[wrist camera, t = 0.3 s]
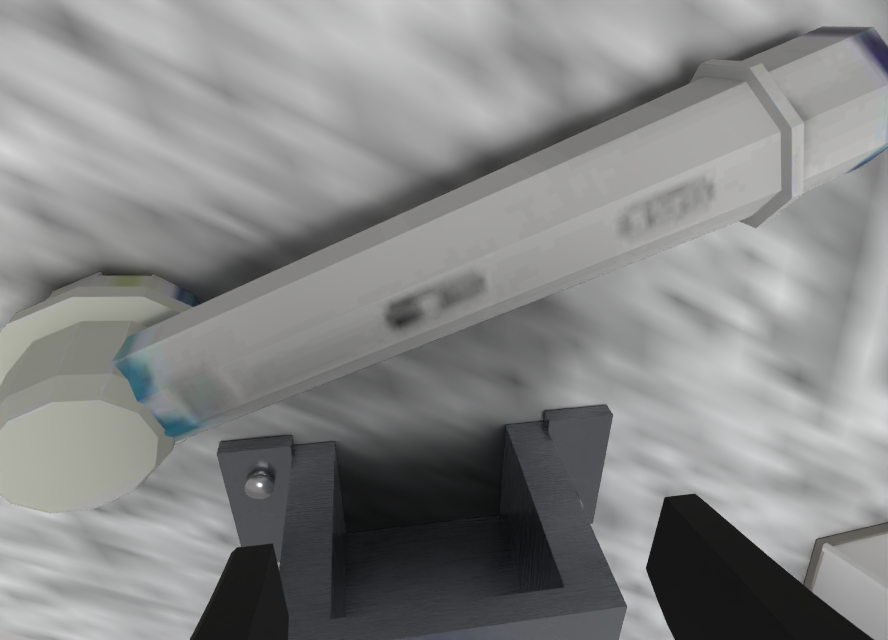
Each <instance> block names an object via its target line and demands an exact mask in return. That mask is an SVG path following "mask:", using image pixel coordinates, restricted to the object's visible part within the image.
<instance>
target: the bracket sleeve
mask: <svg viewBox="0 0 888 640" xmlns="http://www.w3.org/2000/svg"><path fill="white" fill-rule="evenodd" d="M612 418H613V414H612V413H611V411H610V409H609V408H608V406H607V405H603V406H593V407H582V408H572V409H561V410H551V411H545V413H544V421H541V422H530V423H520V424H510V425H506V430H505V444H504V459H503V473H502V487H501V502H500V515H496V516H488V517H479V518H471V519H462V520H454V521H445V522H437V523H428V524H420V525H411V526H403V527H394V528H386V529H377V530H369V531H360V532H352V533H346V528H345V520H344V512H343V504H342V496H341V488H340V480H339V472H338V464H337V456H336V448H335V442H326V443H315V444H305V445H295V446H293V441H292V435H289V436H278V437H268V438H258V439H247V440H237V441H226V442H220V444H219V448H218V451H217V456H218V460H219V464H220V468H221V471H222V475H223V479H224V483H225V487H226V490H227V494H228V498H229V502H230V505H231V509H232V513H233V517H234V521H235V524H236V528H237V532H238V536H239V540H240V543H241V547H247V546H255V545H264V544H272V543H273V545H274V550H275V555H276V559H277V562H280V567H279V573H280V577H281V582H282V587H283V591H284V596H285V600H286V605H287V609H288V614H289V628H288V640H619V636H620V632H621V628H622V624H623V620H624V616H625V613H626V609H627V605H626V603H625V601H624V598H623V596H622V594H621V592H620V590H619V587H618V585H617V583H616V581H615V578H614V576H613V574H612V572H611V570H610V567H609V565H608V563H607V561H606V559H605V556H604V554H603V552H602V550H601V547H600V545H599V543H598V541H597V539H596V536H595V534H594V532H593V530H592V527H591V525H590V524H592V523H593V519H594V513H595V508H596V503H597V497H598V492H599V487H600V481H601V476H602V471H603V465H604V460H605V455H606V450H607V444H608V439H609V434H610V428H611V423H612Z"/></svg>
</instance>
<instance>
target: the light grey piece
mask: <svg viewBox="0 0 888 640" xmlns="http://www.w3.org/2000/svg"><path fill="white" fill-rule="evenodd" d="M887 148H888V45H887V44H886V43H885V41H884V40H883V39H882V37H881V36H880V35H879V34H878V32H877V31H876V30H875V28H874V27H820V28H818V29H816V30H813V31H811V32H809V33H806V34H804V35H802V36H799V37H797V38H794V39H792V40H790V41H787V42H785V43H783V44H780V45H778V46H776V47H773V48H771V49H769V50H766V51H764V52H761V53H759V54H757V55H754V56H752V57H750V58H747V59H745V60H743V61H733V60H722V59H710V60H707V61H705V62H703V63H701V64H700V65H699V67H698V69H697V71H696V72H695V74H694V76H693V77H692V79H691V81H690V82H689V84H687V85H685V86H683V87H681V88H678V89H676V90H674V91H672V92H669V93H667V94H665V95H663V96H661V97H658V98H656V99H654V100H652V101H650V102H647V103H645V104H643V105H641V106H638V107H636V108H634V109H632V110H630V111H627V112H625V113H623V114H621V115H618V116H616V117H614V118H612V119H610V120H607V121H605V122H603V123H601V124H599V125H596V126H594V127H592V128H590V129H587V130H585V131H583V132H581V133H579V134H576V135H574V136H572V137H570V138H568V139H565V140H563V141H561V142H559V143H556V144H554V145H552V146H550V147H548V148H545V149H543V150H541V151H539V152H537V153H534V154H532V155H530V156H528V157H525V158H523V159H521V160H519V161H517V162H514V163H512V164H510V165H508V166H506V167H503V168H501V169H499V170H497V171H494V172H492V173H490V174H488V175H486V176H483V177H481V178H479V179H477V180H475V181H472V182H470V183H468V184H466V185H463V186H461V187H459V188H457V189H455V190H452V191H450V192H448V193H446V194H444V195H441V196H439V197H437V198H435V199H432V200H430V201H428V202H426V203H424V204H421V205H419V206H417V207H415V208H413V209H410V210H408V211H406V212H404V213H401V214H399V215H397V216H395V217H393V218H390V219H388V220H386V221H384V222H382V223H379V224H377V225H375V226H373V227H370V228H368V229H366V230H364V231H362V232H359V233H357V234H355V235H353V236H351V237H348V238H346V239H344V240H342V241H339V242H337V243H335V244H333V245H331V246H328V247H326V248H324V249H322V250H319V251H317V252H315V253H313V254H311V255H308V256H306V257H304V258H302V259H300V260H297V261H295V262H293V263H291V264H288V265H286V266H284V267H282V268H280V269H277V270H275V271H273V272H271V273H269V274H266V275H264V276H262V277H260V278H257V279H255V280H253V281H251V282H249V283H246V284H244V285H242V286H240V287H238V288H235V289H233V290H231V291H229V292H226V293H224V294H222V295H220V296H218V297H215V298H213V299H211V300H209V301H207V302H204V303H202V304H200V303H199V301H198V300H197V298H196V296H195V295H194V294H193V293H191V292H189V291H187V290H184V289H182V288H180V287H178V286H176V285H174V284H172V283H170V282H168V281H166V280H164V279H162V278H160V277H158V276H156V275H154V274H152V276H104V275H103V274H102V272H101V271H100V272H98V273H96V274H93V275H91V276H88V277H86V278H83V279H81V280H79V281H76V282H74V283H71V284H69V285H67V286H64V287H62V288H59V289H57V290H55V291H53V292H52V293H51V294H50V296H49V297H48V298H47V299H46V300H45V301H43V302H41V303H38V304H36V305H33V306H31V307H29V308H26V309H24V310H21V311H19V312H17V313H16V314H15V315H14V316H13V317H12V318H11V320H10V321H9V322H8V323H7V325H6V326H5V327H4V328H3V329H2V331H1V332H0V495H1V496H3V497H4V498H5V499H6V500H7V501H8V502H9V503H10V504H14V505H19V506H23V507H27V508H31V509H35V510H39V511H43V512H47V513H58V512H68V511H78V510H88V509H95V508H97V507H100V506H102V505H104V504H106V503H108V502H111V501H113V500H115V499H117V498H120V497H122V496H124V495H126V494H129V493H131V492H133V491H134V490H135V489H136V488H137V487H138V486H139V485H140V484H141V483H143V482H144V481H145V480H146V479H147V478H148V477H149V476H150V474H151V473H152V472H153V471H154V470H155V469H156V468H157V467H158V466H159V465H160V463H161V462H162V461H163V460H164V459H165V458H166V457H167V456H168V455H169V454H170V452H171V451H172V450H173V448H174V445H177V444H179V443H181V442H183V441H185V440H186V439H187V438H188V437H190V436H193V435H195V434H198V433H200V432H203V431H205V430H208V429H210V428H213V427H215V426H218V425H221V424H223V423H226V422H228V421H231V420H233V419H236V418H238V417H241V416H243V415H246V414H249V413H251V412H254V411H256V410H259V409H261V408H264V407H266V406H269V405H272V404H274V403H277V402H279V401H282V400H284V399H287V398H289V397H292V396H294V395H297V394H300V393H302V392H305V391H307V390H310V389H312V388H315V387H317V386H320V385H322V384H325V383H328V382H330V381H333V380H335V379H338V378H340V377H343V376H345V375H348V374H351V373H353V372H356V371H358V370H361V369H363V368H366V367H368V366H371V365H373V364H376V363H379V362H381V361H384V360H386V359H389V358H391V357H394V356H396V355H399V354H401V353H404V352H407V351H409V350H412V349H414V348H417V347H419V346H422V345H424V344H427V343H429V342H432V341H435V340H437V339H440V338H442V337H445V336H447V335H450V334H452V333H455V332H458V331H460V330H463V329H465V328H468V327H470V326H473V325H475V324H478V323H480V322H483V321H486V320H488V319H491V318H493V317H496V316H498V315H501V314H503V313H506V312H508V311H511V310H514V309H516V308H519V307H521V306H524V305H526V304H529V303H531V302H534V301H537V300H539V299H542V298H544V297H547V296H549V295H552V294H554V293H557V292H559V291H562V290H565V289H567V288H570V287H572V286H575V285H577V284H580V283H582V282H585V281H587V280H590V279H593V278H595V277H598V276H600V275H603V274H605V273H608V272H610V271H613V270H616V269H618V268H621V267H623V266H626V265H628V264H631V263H633V262H636V261H638V260H641V259H644V258H646V257H649V256H651V255H654V254H656V253H659V252H661V251H664V250H666V249H669V248H672V247H674V246H677V245H679V244H682V243H684V242H687V241H689V240H692V239H694V238H697V237H700V236H702V235H705V234H707V233H710V232H712V231H715V230H717V229H720V228H723V227H725V226H728V225H730V224H733V223H735V222H738V221H740V222H742V223H745V224H747V225H750V226H752V227H754V228H757V227H759V226H762V225H764V224H766V223H767V222H769V221H770V220H771V219H772V218H774V217H775V216H776V215H777V214H778V213H780V212H781V211H782V210H783V209H785V208H786V207H787V206H788V205H790V204H791V203H792V202H793V201H795V200H796V199H797V198H798V197H800V196H801V195H802V194H803V193H804V192H806V191H809V190H811V189H813V188H815V187H817V186H820V185H822V184H824V183H826V182H829V181H831V180H833V179H835V178H837V177H840V176H842V175H844V174H846V173H849V172H851V171H853V170H855V169H857V168H860V167H862V166H864V165H865V164H867V163H868V162H869V161H871V160H872V159H873V158H875V157H876V156H877V155H879V154H880V153H881V152H883V151H884V150H885V149H887Z"/></svg>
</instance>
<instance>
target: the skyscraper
mask: <svg viewBox="0 0 888 640" xmlns="http://www.w3.org/2000/svg"><path fill="white" fill-rule="evenodd" d="M804 586H805V587H807V588H808V589H809V590H810V591H812V592H813V593H814V594H815V595H816V596H818V597H819V598H820V599H822V600H823V601H824V602H825V603H827V604H828V605H829V606H830V607H832V608H833V609H834V610H836V611H837V612H838V613H839V614H841V615H842V616H843V617H845V618H846V619H847V620H849V621H850V622H851V623H853V624H854V625H855V626H857V627H858V628H859V629H861V630H862V631H863V632H865V633H866V634H867V635H869V636H870V637H871V638H873V639H874V640H888V523H885V524H881V525H876V526H872V527H868V528H864V529H859V530H855V531H851V532H847V533H842V534H838V535H834V536H829V537H825V538H821V539H817V540H816V543H815V547H814V550H813V554H812V558H811V561H810V565H809V568H808V572H807V576H806V579H805V583H804Z"/></svg>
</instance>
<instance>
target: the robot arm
mask: <svg viewBox="0 0 888 640" xmlns="http://www.w3.org/2000/svg"><path fill="white" fill-rule="evenodd" d="M646 570H647V573H648V576H649V578H650V581H651V584H652V586H653V589H654V592H655V595H656V597H657V600H658V602H659V605H660V607H661V610H662V612H663V615H664V617H665V620H666V622H667V625H668V627H669V629H670V631H671V633H672V635H673V637H674V639H675V640H874V639H873V638H871V637H870V636H869V635H867V634H866V633H865V632H863V631H862V630H861V629H859V628H858V627H857V626H855V625H854V624H853V623H851V622H850V621H849V620H847V619H846V618H845V617H843V616H842V615H841V614H839V613H838V612H837V611H836V610H834V609H833V608H832V607H830V606H829V605H828V604H827V603H825V602H824V601H823V600H822V599H820V598H819V597H818V596H816V595H815V594H814V593H813V592H812V591H810V590H809V589H808V588H807V587H805V586H804V585H803V584H802V583H800V582H799V581H798V580H797V579H795V578H794V577H793V576H792V575H791V574H789V573H788V572H787V571H786V570H785V569H783V568H782V567H781V566H780V565H779V564H777V563H776V562H775V561H774V560H773V559H771V558H770V557H769V556H768V555H767V554H765V553H764V552H763V551H762V550H761V549H760V548H758V547H757V546H756V545H755V544H754V543H752V542H751V541H750V540H749V539H748V538H747V537H745V536H744V535H743V534H742V533H741V532H740V531H738V530H737V529H736V528H735V527H734V526H733V525H731V524H730V523H729V522H728V521H727V520H726V519H724V518H723V517H722V516H721V515H720V514H719V513H717V512H716V511H715V510H714V509H713V508H712V507H710V506H709V505H708V504H707V503H706V502H704V501H703V500H702V499H701V498H700V497H698V496H697V495H696V494H688V495H679V496H671V497H665V498H664V502H663V506H662V510H661V513H660V517H659V521H658V525H657V528H656V532H655V536H654V540H653V543H652V547H651V551H650V555H649V559H648V562H647V566H646ZM288 628H289V614H288V609H287V605H286V600H285V596H284V591H283V587H282V582H281V577H280V573H279V568H278V564H277V559H276V555H275V550H274V545H273V543H272V544H264V545H255V546H247V547H238V548H236V549H235V550H234V551H233V552H232V553H231V555H230V557H229V559H228V562H227V564H226V566H225V569H224V571H223V573H222V575H221V578H220V580H219V582H218V584H217V586H216V588H215V590H214V593H213V595H212V597H211V599H210V601H209V603H208V605H207V607H206V609H205V611H204V613H203V615H202V617H201V619H200V621H199V623H198V625H197V627H196V629H195V631H194V633H193V635H192V636H191V638H190V640H288Z"/></svg>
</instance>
